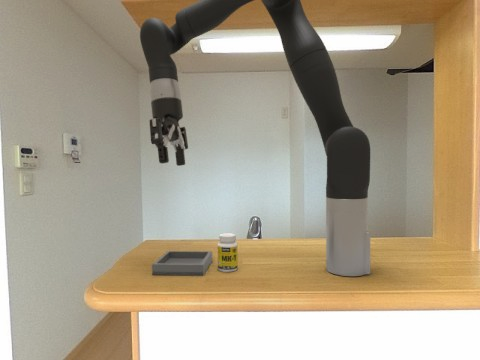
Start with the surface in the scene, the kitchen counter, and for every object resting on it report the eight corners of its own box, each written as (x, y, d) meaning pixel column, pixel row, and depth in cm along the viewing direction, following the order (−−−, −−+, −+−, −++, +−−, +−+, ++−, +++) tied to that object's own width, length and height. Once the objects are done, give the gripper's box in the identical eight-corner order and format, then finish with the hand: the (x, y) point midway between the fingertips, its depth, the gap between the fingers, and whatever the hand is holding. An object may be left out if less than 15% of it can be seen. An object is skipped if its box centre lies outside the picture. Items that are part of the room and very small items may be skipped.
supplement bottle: (220, 273, 78) (219, 237, 78) (216, 267, 83) (215, 233, 83) (240, 271, 80) (239, 236, 79) (235, 265, 84) (234, 232, 84)
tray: (212, 260, 89) (212, 251, 89) (203, 275, 77) (203, 264, 77) (167, 260, 90) (167, 250, 90) (152, 275, 78) (151, 264, 78)
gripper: (164, 89, 77) (172, 159, 76) (191, 104, 91) (198, 164, 90) (136, 96, 79) (143, 164, 78) (167, 109, 93) (173, 168, 92)
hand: (173, 164), depth 84 cm, fingers open, 8 cm apart
